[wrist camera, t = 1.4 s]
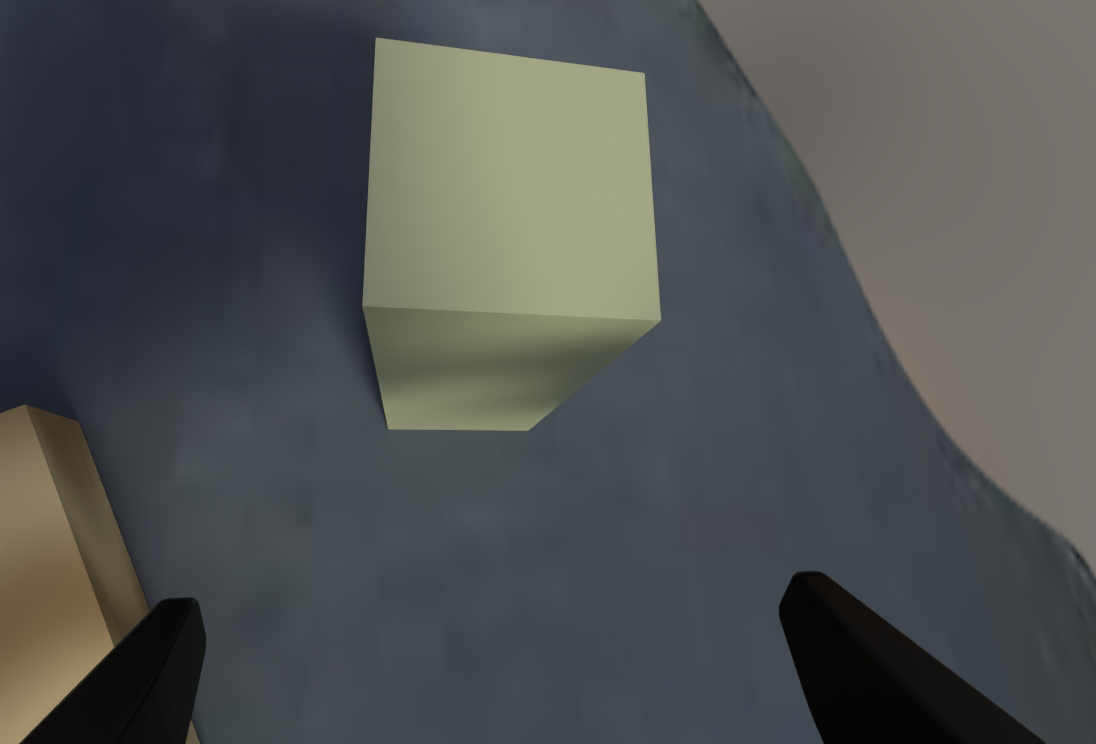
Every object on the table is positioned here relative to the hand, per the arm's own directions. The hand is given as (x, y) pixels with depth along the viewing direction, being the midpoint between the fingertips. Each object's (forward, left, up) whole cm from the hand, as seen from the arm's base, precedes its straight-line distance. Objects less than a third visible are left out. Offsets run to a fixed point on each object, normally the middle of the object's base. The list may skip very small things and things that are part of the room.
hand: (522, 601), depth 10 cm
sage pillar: (+6, -3, -13) cm, 15 cm away
